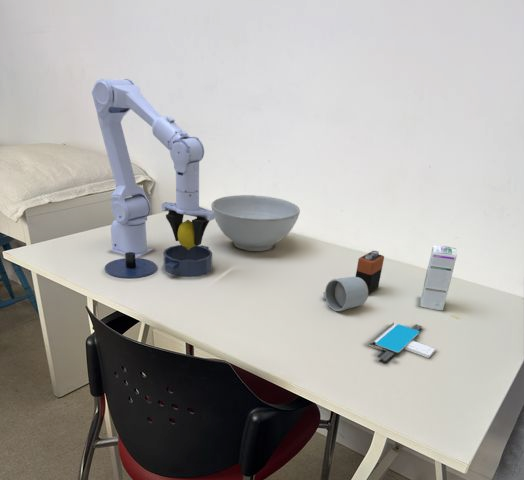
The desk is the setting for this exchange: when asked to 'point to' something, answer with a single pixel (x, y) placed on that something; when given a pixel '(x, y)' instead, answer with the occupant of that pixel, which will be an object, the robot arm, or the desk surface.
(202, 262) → the pot
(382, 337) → the blue flat gadget
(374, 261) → the battery
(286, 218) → the decorative bowl
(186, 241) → the lemon
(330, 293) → the ceramic mug
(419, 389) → the desk surface
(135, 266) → the pot lid
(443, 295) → the syrup box
